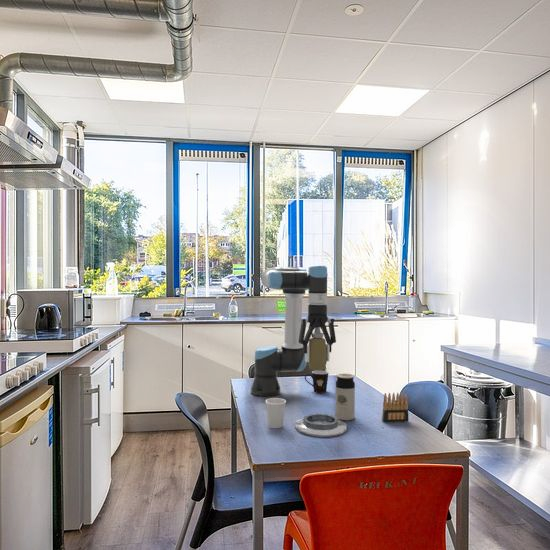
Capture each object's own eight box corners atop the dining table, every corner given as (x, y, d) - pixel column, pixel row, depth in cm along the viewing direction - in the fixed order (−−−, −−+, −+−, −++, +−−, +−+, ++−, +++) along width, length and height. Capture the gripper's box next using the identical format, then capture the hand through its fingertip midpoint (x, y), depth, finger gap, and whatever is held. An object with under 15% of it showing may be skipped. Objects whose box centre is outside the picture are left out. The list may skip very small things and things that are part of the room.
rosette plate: (288, 422, 178) (288, 413, 178) (333, 418, 184) (333, 409, 184) (306, 439, 159) (306, 429, 159) (355, 434, 165) (355, 425, 165)
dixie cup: (262, 423, 176) (262, 398, 177) (281, 421, 179) (281, 397, 179) (269, 430, 169) (269, 404, 169) (289, 428, 172) (289, 402, 172)
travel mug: (343, 413, 191) (343, 372, 191) (358, 418, 185) (358, 375, 185) (331, 417, 185) (332, 375, 185) (347, 422, 179) (347, 378, 179)
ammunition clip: (406, 420, 182) (407, 391, 182) (408, 422, 180) (408, 392, 181) (382, 421, 181) (382, 392, 181) (383, 422, 179) (383, 393, 179)
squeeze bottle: (313, 371, 169) (314, 325, 170) (303, 368, 177) (303, 323, 177) (331, 370, 173) (331, 324, 173) (320, 366, 180) (320, 322, 181)
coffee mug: (331, 391, 229) (331, 371, 229) (323, 394, 222) (324, 374, 222) (311, 387, 236) (311, 369, 236) (303, 391, 228) (303, 372, 228)
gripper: (296, 304, 169) (295, 363, 168) (345, 304, 175) (345, 361, 174) (290, 303, 176) (289, 360, 175) (337, 303, 182) (336, 358, 182)
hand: (317, 361), depth 175 cm, fingers closed on squeeze bottle, 8 cm apart
